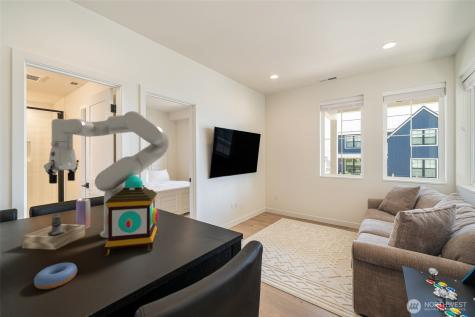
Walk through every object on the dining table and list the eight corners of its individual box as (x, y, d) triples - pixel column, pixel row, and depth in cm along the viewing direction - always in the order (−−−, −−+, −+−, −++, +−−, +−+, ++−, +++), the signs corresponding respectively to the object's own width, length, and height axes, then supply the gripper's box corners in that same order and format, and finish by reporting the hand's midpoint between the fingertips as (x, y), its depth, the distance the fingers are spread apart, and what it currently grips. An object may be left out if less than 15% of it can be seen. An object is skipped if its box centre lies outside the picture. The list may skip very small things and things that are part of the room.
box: (84, 235, 97) (84, 225, 97) (55, 249, 82) (55, 237, 82) (56, 234, 98) (56, 224, 98) (22, 248, 83) (22, 236, 83)
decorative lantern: (98, 258, 75) (98, 178, 75) (115, 237, 94) (115, 173, 94) (155, 252, 81) (155, 177, 80) (160, 233, 100) (160, 173, 99)
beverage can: (78, 230, 103) (78, 201, 103) (74, 227, 106) (74, 199, 106) (92, 227, 108) (91, 199, 107) (88, 224, 111) (88, 197, 111)
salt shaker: (54, 243, 87) (54, 215, 86) (43, 241, 88) (43, 214, 88) (68, 237, 92) (68, 211, 92) (58, 236, 94) (58, 210, 93)
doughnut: (28, 296, 55) (31, 278, 55) (36, 279, 63) (38, 264, 63) (75, 286, 61) (77, 270, 61) (77, 272, 69) (78, 258, 69)
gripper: (53, 144, 86) (53, 184, 87) (84, 146, 104) (84, 179, 104) (36, 144, 86) (36, 184, 87) (70, 146, 104) (70, 179, 104)
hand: (62, 182), depth 95 cm, fingers open, 9 cm apart
